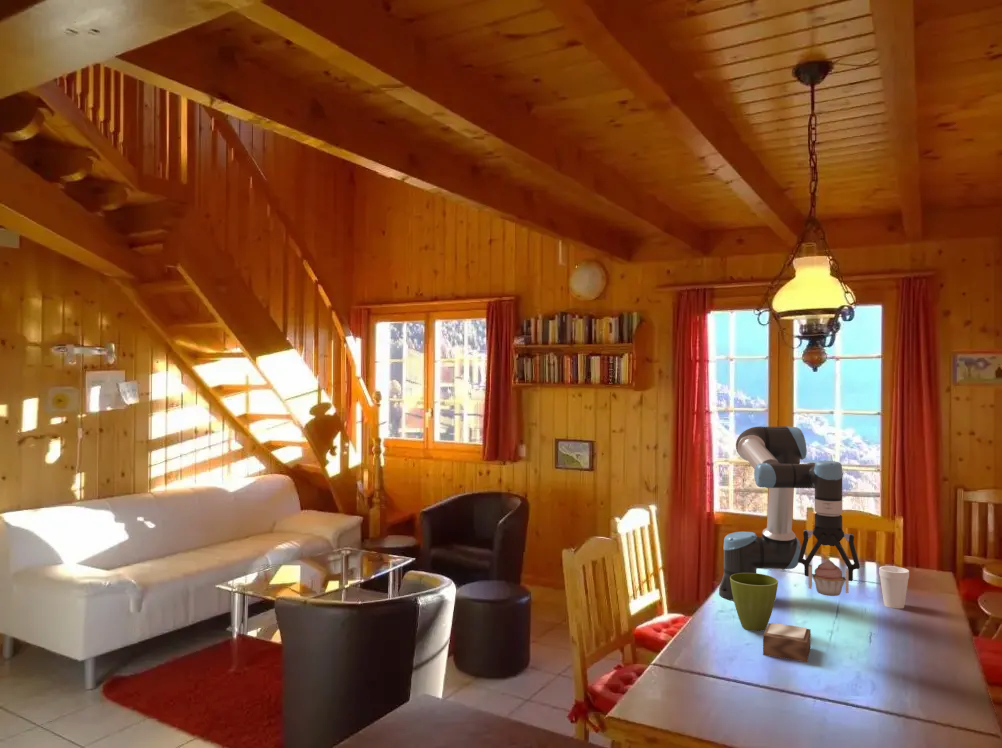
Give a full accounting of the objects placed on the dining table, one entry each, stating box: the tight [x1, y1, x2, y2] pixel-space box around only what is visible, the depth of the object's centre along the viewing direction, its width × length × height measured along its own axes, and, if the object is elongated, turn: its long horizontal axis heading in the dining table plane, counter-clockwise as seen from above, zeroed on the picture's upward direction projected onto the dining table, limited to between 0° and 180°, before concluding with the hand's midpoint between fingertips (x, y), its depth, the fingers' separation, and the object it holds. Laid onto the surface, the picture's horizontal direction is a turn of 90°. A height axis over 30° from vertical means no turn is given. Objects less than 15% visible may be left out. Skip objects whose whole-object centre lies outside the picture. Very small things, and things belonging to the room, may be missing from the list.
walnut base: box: [762, 622, 812, 663], centre depth 219 cm, size 12×12×6 cm
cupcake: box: [812, 559, 846, 597], centre depth 217 cm, size 9×9×10 cm
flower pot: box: [730, 572, 779, 632], centre depth 240 cm, size 15×15×16 cm
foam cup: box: [878, 565, 910, 610], centre depth 262 cm, size 10×9×13 cm
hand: (828, 589), depth 217 cm, fingers closed on cupcake, 9 cm apart
